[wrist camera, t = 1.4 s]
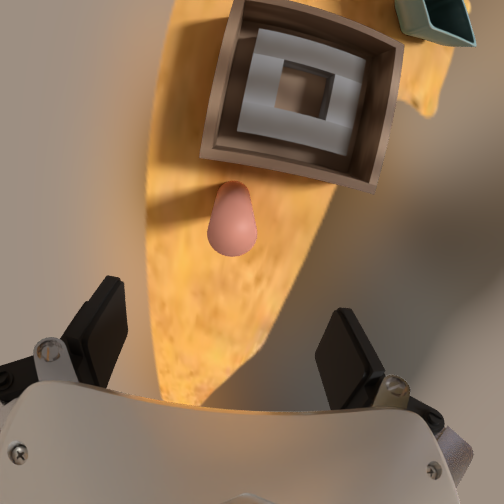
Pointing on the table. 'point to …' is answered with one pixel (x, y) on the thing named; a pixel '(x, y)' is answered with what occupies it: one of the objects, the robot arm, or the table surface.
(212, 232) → the peg
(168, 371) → the table surface
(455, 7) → the flower pot
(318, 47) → the open box
